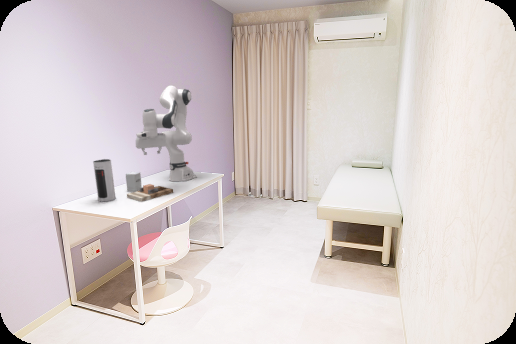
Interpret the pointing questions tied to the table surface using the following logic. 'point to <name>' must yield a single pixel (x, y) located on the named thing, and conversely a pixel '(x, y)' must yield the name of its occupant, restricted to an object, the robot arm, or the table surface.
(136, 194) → the wooden tray
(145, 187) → the terracotta block
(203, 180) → the table surface
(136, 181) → the supplement box
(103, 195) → the speaker
